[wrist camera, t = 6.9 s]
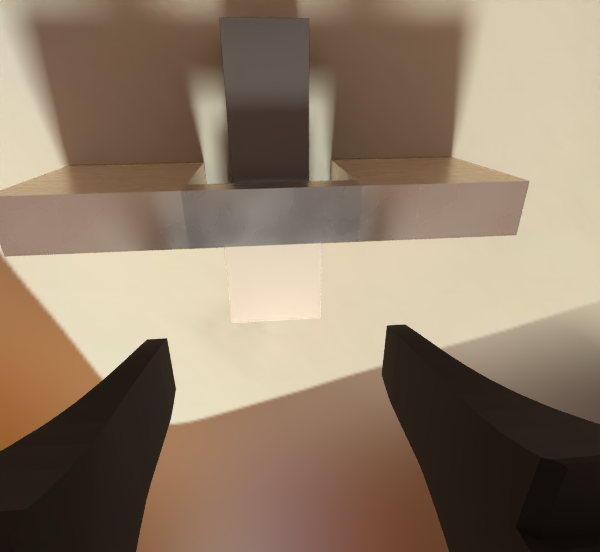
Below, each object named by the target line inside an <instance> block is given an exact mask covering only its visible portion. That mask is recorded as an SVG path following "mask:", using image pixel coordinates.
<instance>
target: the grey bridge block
mask: <svg viewBox="0 0 600 552" xmlns="http://www.w3.org/2000/svg"><path fill="white" fill-rule="evenodd" d="M528 184H529V181H528V180H525V179H521V178H518V177H515V176H512V175H508V174H505V173H502V172H499V171H495V170H492V169H489V168H486V167H482V166H479V165H476V164H473V163H470V162H466V161H463V160H460V159H457V158H453V157H431V158H386V159H342V160H331V181H302V182H265V183H228V184H206V179H205V170H204V163H164V164H120V165H76V166H66V167H63V168H61V169H58V170H55V171H52V172H50V173H47V174H44V175H41V176H39V177H36V178H33V179H31V180H28V181H25V182H22V183H20V184H17V185H14V186H11V187H9V188H6V189H3V190H0V245H1V248H2V250H3V253H4V256H25V255H49V254H73V253H97V252H121V251H145V250H169V249H194V248H218V247H242V246H266V245H290V244H314V243H338V242H362V241H386V240H410V239H434V238H458V237H482V236H506V235H516V234H517V230H518V226H519V222H520V218H521V214H522V209H523V205H524V201H525V197H526V193H527V189H528Z"/></svg>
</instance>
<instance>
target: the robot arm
mask: <svg viewBox="0 0 600 552" xmlns="http://www.w3.org/2000/svg"><path fill="white" fill-rule="evenodd" d="M382 377H383V380H384V384H385V387H386V390H387V393H388V396H389V399H390V402H391V404H392V407H393V409H394V411H395V413H396V415H397V417H398V420H399V422H400V424H401V426H402V428H403V430H404V432H405V435H406V437H407V439H408V441H409V443H410V445H411V447H412V449H413V452H414V453H415V456H416V458H417V460H418V462H419V465H420V467H421V469H422V472H423V474H424V477H425V480H426V483H427V485H428V488H429V491H430V494H431V497H432V500H433V503H434V506H435V509H436V512H437V515H438V518H439V521H440V524H441V527H442V530H443V533H444V536H445V539H446V543H447V546H448V549H449V552H600V424H598V423H594V422H591V421H588V420H585V419H582V418H579V417H576V416H573V415H570V414H568V413H565V412H562V411H559V410H557V409H554V408H551V407H549V406H546V405H544V404H541V403H539V402H537V401H534V400H532V399H530V398H527V397H525V396H522V395H520V394H518V393H516V392H514V391H511V390H510V389H508V388H506V387H504V386H502V385H500V384H498V383H496V382H494V381H492V380H490V379H488V378H486V377H484V376H483V375H481V374H479V373H477V372H476V371H474V370H472V369H471V368H469V367H467V366H466V365H464V364H462V363H461V362H459V361H458V360H456V359H455V358H453V357H451V356H450V355H449V354H447V353H446V352H444V351H443V350H441V349H440V348H438V347H437V346H435V345H434V344H433V343H431V342H430V341H428V340H427V339H425V338H424V337H423V336H421V335H420V334H418V333H417V332H415V331H414V330H413V329H411V328H409V327H408V326H406V325H389V326H387V331H386V340H385V349H384V359H383V368H382ZM175 391H176V387H175V381H174V376H173V370H172V364H171V359H170V353H169V347H168V342H167V339H150V340H146V341H145V342H144V343H143V344H142V345H141V346H140V347H139V348H137V349H136V350H135V351H134V352H133V353H132V354H131V355H130V356H129V357H128V358H127V359H126V360H125V361H124V362H123V363H121V364H120V365H119V366H118V367H117V368H116V369H115V370H114V371H113V372H112V373H110V374H109V375H108V376H107V377H106V378H105V379H104V380H102V381H101V382H100V383H99V384H98V385H97V386H95V387H94V388H93V389H92V390H90V391H89V392H88V393H87V394H86V395H84V396H83V397H82V398H81V399H79V400H78V401H77V402H76V403H75V404H73V405H72V406H70V407H69V408H68V409H66V410H65V411H63V412H62V413H61V414H59V415H58V416H56V417H55V418H53V419H52V420H51V421H49V422H48V423H46V424H45V425H43V426H41V427H40V428H38V429H37V430H35V431H33V432H32V433H30V434H29V435H27V436H25V437H24V438H22V439H20V440H19V441H17V442H15V443H14V444H12V445H10V446H9V447H7V448H6V449H4V450H2V451H0V552H136V549H137V543H138V538H139V533H140V528H141V523H142V518H143V514H144V509H145V504H146V499H147V495H148V492H149V488H150V484H151V481H152V478H153V474H154V471H155V468H156V465H157V461H158V459H159V455H160V452H161V449H162V446H163V443H164V439H165V436H166V433H167V430H168V426H169V423H170V420H171V415H172V410H173V404H174V398H175Z"/></svg>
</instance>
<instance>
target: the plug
mask: <svg viewBox="0 0 600 552" xmlns="http://www.w3.org/2000/svg"><path fill="white" fill-rule="evenodd" d="M219 21H220V33H221V46H222V58H223V71H224V83H225V96H226V109H227V121H228V134H229V146H230V159H231V171H232V183H265V182H302V181H309V18H219ZM224 251H225V261H226V272H227V282H228V293H229V303H230V314H231V323H240V322H258V321H275V320H292V319H309V318H321V265H322V243H314V244H290V245H266V246H242V247H224Z"/></svg>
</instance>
